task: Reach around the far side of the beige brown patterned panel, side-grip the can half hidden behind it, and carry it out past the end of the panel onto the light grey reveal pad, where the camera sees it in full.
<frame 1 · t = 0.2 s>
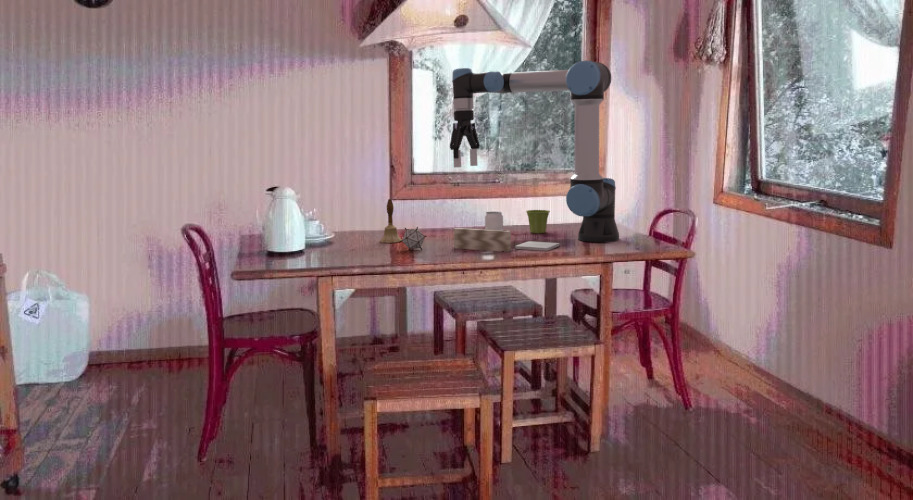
hand: (465, 166, 325), 27 cm above the table, tool pointing down, fingers open, 13 cm apart
hand bell: (391, 242, 321), on the table
beige brown patterned panel: (482, 249, 300), on the table
reveal pad: (537, 247, 303), on the table
game die: (413, 250, 301), on the table
plant pot: (537, 233, 340), on the table
can: (494, 246, 308), on the table
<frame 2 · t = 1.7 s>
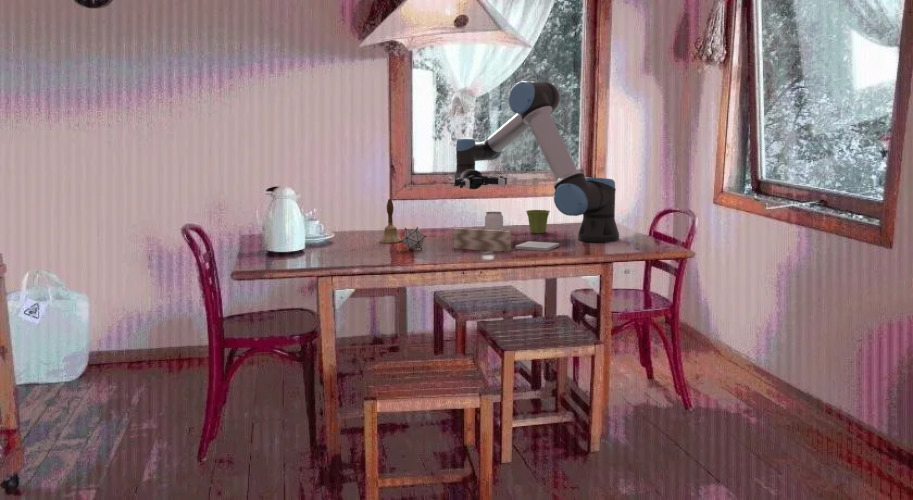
hand: (486, 183, 314), 22 cm above the table, tool horizontal, fingers open, 13 cm apart
nothing on the table moved.
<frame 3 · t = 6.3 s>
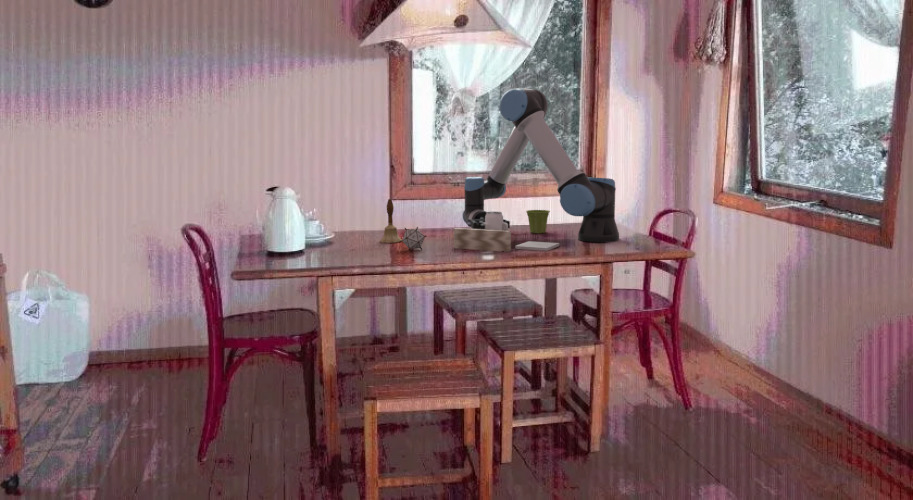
hand: (497, 228, 302), 7 cm above the table, tool horizontal, fingers closed on can, 6 cm apart
can: (494, 246, 308), on the table, touching gripper
everything else where it was.
when the fingers open (9 cm above the table, at t = 11.0 s): can drops 1 cm, resting on reveal pad.
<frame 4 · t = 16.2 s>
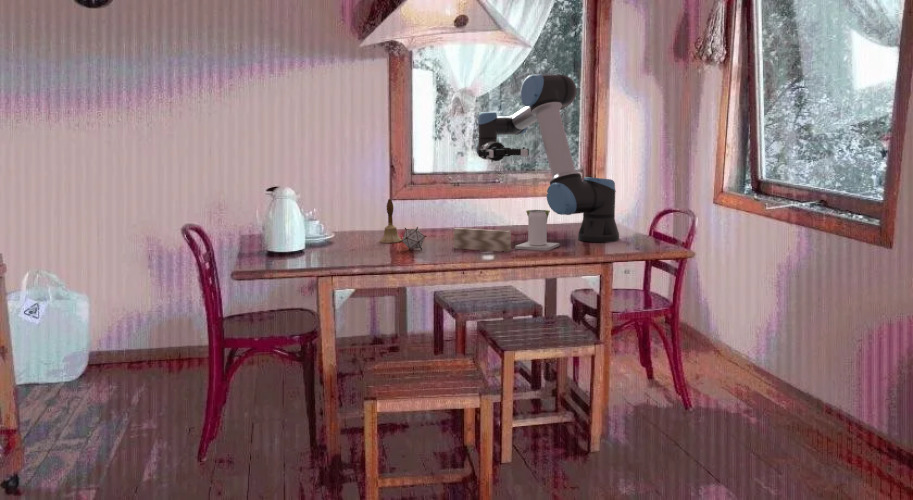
hand: (509, 153, 322), 32 cm above the table, tool horizontal, fingers open, 13 cm apart
can: (537, 245, 303), point 1 cm above the table, touching reveal pad
everything else where it was.
at the end: can inside the target area on the reveal pad (0.0 cm from its centre), point 0.8 cm above the reveal pad's base; can tilted 0°; the gripper is holding nothing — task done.
